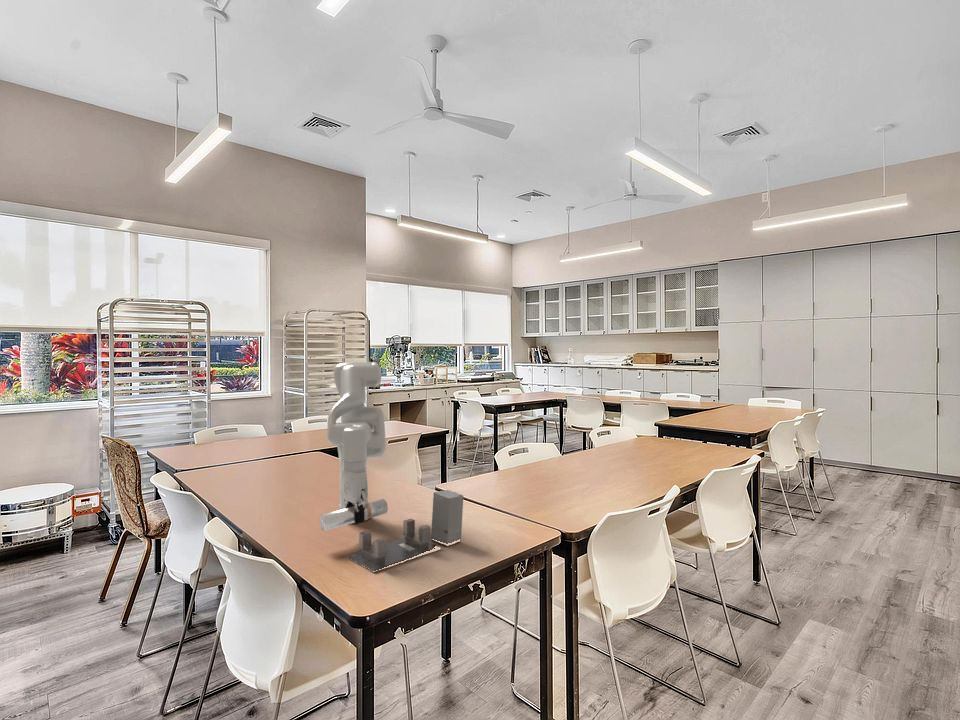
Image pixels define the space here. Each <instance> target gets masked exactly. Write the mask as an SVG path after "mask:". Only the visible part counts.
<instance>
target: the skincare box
mask: <svg viewBox="0 0 960 720" xmlns="http://www.w3.org/2000/svg"><path fill="white" fill-rule="evenodd" d="M463 508H464V495H463V494H460V493H458V492H457V491H452V490H449V489H445V490H440V491H439V490H438V491H435V492H433V498H432V515H431V516H432V517H431V538H432V539H434V540H437V541H440V542H443V543H446V544H448V543H452V542H454V541H457V540H459V539H461V540H462V531H463V530H462V529H463V512H464V511H463Z"/></svg>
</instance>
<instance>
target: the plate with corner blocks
mask: <svg viewBox="0 0 960 720" xmlns="http://www.w3.org/2000/svg"><path fill="white" fill-rule="evenodd" d="M402 526H403V534H402V535H404V536H405V537H403V538H400V539H396V540H393V541H390V542H387V541H388V539H387V538H385V537H381V538H378V539H374V540H373V543H372V535H373V534H372V531H369V530H365V531H362V532H358V539H359V540H358V541H359V542H358V544H359V547H358V548H359V549H360V551H358V552H354V553H351V554H349V555H348V559H349V558H350V559H352V560H353V561H352V560H351V561H352V562H354V561H356V562H357V563H359V564H361V565H363V566H365V567H367V568H369V569H370V570H372V571H376V570H379V569H382V568H384V567H387V566H389V565H392V564H395V563H398V562H401V561H404V560H406V559H409V558H412V557H414V556H417V555H419V554H421V553H424V552H426V551H430V550H432V549H433V548H434V547H435V546H436V545H437V544H436V543H435V542H434V543H433V542H432V540H431V529H432V525H428V524H424V525H421V526H418V534H416V530H415V529H416V522H415V519H413V518H409V519H408V518H407V519H405V520H403V525H402ZM372 544H373V546H372ZM434 549H435V548H434ZM350 559H349V560H350ZM356 562H355V563H356ZM357 563H356V564H357ZM359 564H358V565H359ZM361 565H360V566H361Z"/></svg>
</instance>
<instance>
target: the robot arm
mask: <svg viewBox="0 0 960 720" xmlns="http://www.w3.org/2000/svg"><path fill="white" fill-rule="evenodd" d="M333 379H334V384H335V387H336V390H337V392H338V395H339V398H340V399H339V400H338V401H337V402H336V403H334V405H333V407H332V408H331V409H330V411H329V413H328V415H327V416H328V417H327V431H326V432H327V433H326V435H327V436H326V437H327V441H328V443H329V444H330V445H331V446H337V447H336V448H337V453H338V461H339V504H338V505H337V507H338V509H339V510H342V509H346V508H349V507H353V506H355V507H356V512H355V523H354V524H355V525H358V524H362V523H365V521H367V520H369V519H366V520H364V510H365V508H366V506H367V505H368V504H369V500H368V499H369V485H368V474H367V469H368V468H367V463H368V459H370V458H371V459H372V458H380V457H383V456H384V455H385V453H386V450H387V447H386V446H387V445H386V443H387V442H386V427H385V416H384V412H383V409H382V408H381V407H379V406H369V405H368V406H364V404H365V403H366V398H367V397H366V388H368V387H370V388H372V387H373V388H375V387H379V386H380V384H381V382H382V371H381V368H380V366H379V364H378V363H377V362H376V361H375V362H374V361H364V362H363V361H360V362H358V361H354V362H352V361H348V362H347V361H346V362H341V363H338V364H337V365H335V366H334V368H333ZM365 387H366V388H365ZM338 419H340V420H341V422H337V420H338ZM359 505H360V506H359Z"/></svg>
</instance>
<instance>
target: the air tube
mask: <svg viewBox="0 0 960 720" xmlns="http://www.w3.org/2000/svg"><path fill="white" fill-rule="evenodd" d="M368 503H369V504H368V505H367V506H366V508H365V510H364V520H365V521H367V520H366V519H368V520H369V519H372V518H375V517H380V516H383V515H386V514H387V513H388V509H389V507H388V503H387V501H386V499H384V498H380V499H377V500H373V501H370V502H369V501H368ZM359 506H360V505H359ZM355 512H356V507H355V506H353V507H349V508H346V509H342V510H340V509H338V510H333V511H332V512H331V511H330V512H326V513H323V514H320V516H319V527H320V528H321V530H322V531H323V532H326V531H329V530H333V529H336V528H340V527H344V526H347V525H348V526H349V525H351V524H355Z"/></svg>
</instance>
